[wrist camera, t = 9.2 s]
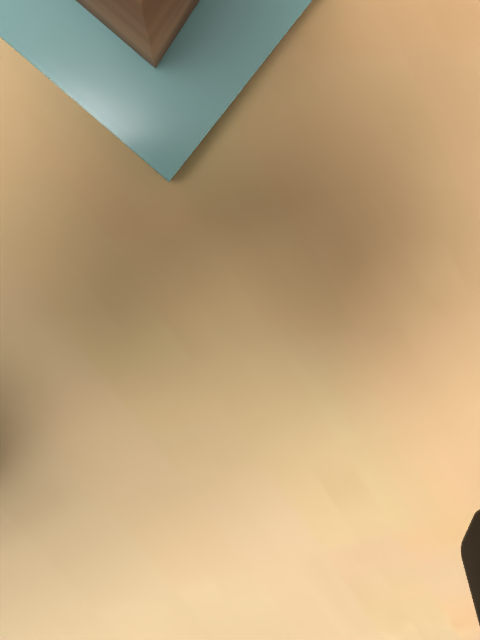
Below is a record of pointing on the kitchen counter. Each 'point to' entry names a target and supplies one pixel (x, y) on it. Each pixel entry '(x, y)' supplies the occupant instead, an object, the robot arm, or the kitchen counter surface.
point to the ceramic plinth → (151, 68)
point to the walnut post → (143, 22)
